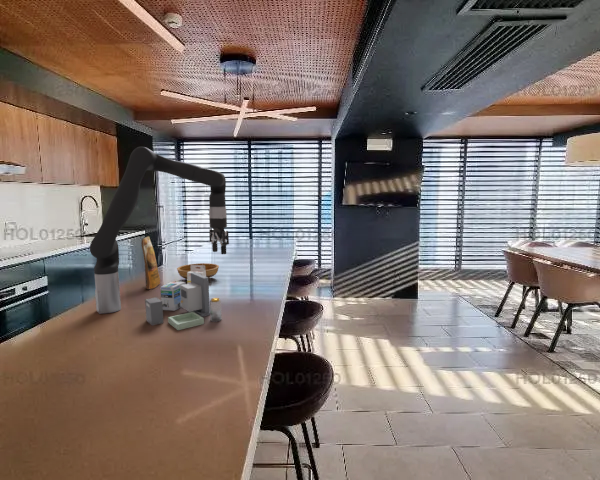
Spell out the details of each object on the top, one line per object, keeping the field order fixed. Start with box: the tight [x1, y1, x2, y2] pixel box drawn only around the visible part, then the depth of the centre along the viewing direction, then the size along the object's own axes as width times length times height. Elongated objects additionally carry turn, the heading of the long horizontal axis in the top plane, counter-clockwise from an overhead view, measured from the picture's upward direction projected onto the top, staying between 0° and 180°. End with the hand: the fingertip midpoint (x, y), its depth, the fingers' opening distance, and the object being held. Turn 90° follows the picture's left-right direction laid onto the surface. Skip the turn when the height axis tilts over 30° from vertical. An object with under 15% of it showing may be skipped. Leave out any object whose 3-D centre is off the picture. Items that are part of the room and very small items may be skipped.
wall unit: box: [180, 272, 210, 318], centre depth 154 cm, size 12×16×16 cm
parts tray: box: [167, 311, 205, 331], centre depth 141 cm, size 10×10×2 cm
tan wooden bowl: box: [176, 263, 220, 280], centre depth 212 cm, size 30×24×8 cm
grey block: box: [144, 297, 164, 326], centre depth 142 cm, size 5×7×9 cm, turn 39°
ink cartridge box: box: [186, 265, 206, 284], centre depth 182 cm, size 9×5×15 cm, turn 84°
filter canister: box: [209, 297, 222, 323], centre depth 144 cm, size 4×4×9 cm
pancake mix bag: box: [141, 235, 161, 290], centre depth 198 cm, size 7×19×28 cm, turn 5°
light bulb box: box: [159, 281, 186, 312], centre depth 161 cm, size 11×7×11 cm, turn 168°
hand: (219, 252), depth 159 cm, fingers open, 8 cm apart
